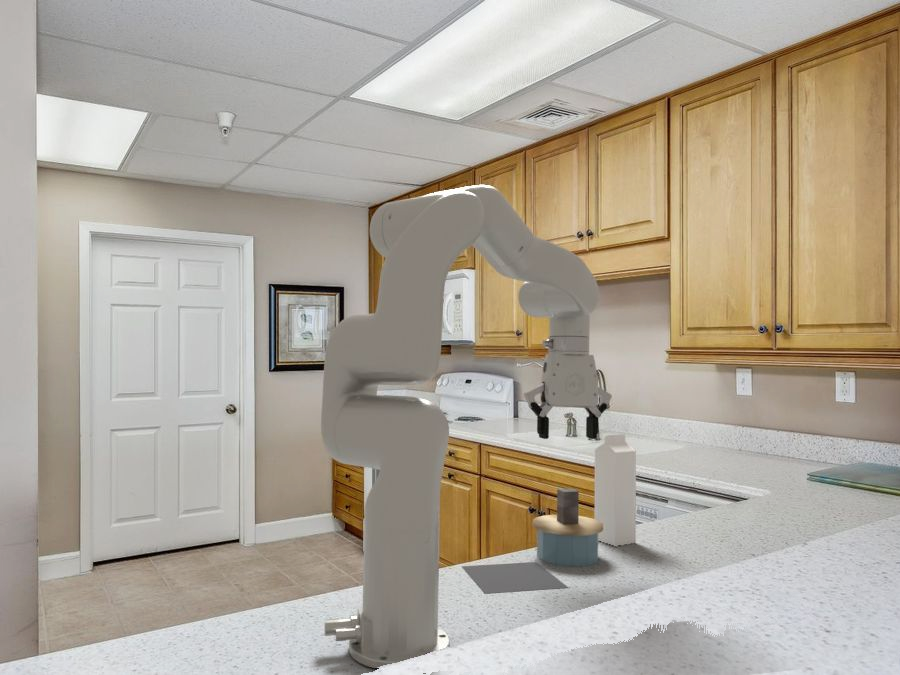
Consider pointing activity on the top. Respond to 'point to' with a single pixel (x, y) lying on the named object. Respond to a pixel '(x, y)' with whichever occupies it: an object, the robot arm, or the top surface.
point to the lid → (567, 517)
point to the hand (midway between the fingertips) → (567, 438)
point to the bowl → (567, 549)
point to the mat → (512, 577)
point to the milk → (615, 490)
